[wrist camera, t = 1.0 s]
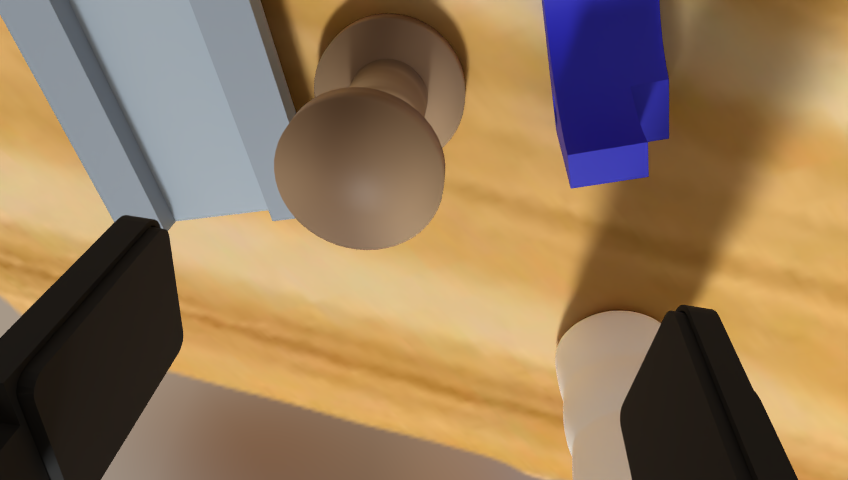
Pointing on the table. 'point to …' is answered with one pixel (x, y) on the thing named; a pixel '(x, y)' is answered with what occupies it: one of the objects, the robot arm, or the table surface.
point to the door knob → (373, 134)
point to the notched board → (163, 100)
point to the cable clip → (607, 86)
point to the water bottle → (600, 388)
